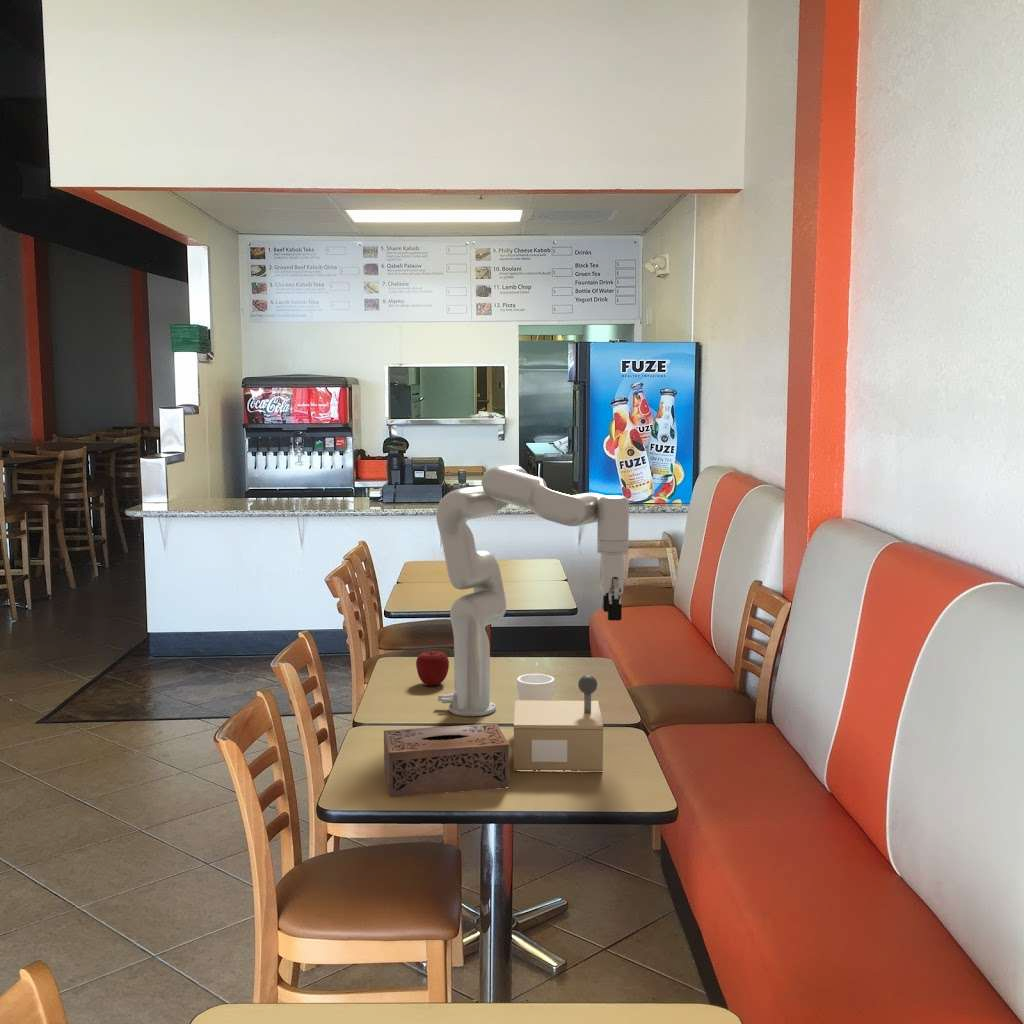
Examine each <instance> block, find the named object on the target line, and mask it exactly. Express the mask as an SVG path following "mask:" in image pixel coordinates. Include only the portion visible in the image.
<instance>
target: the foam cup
mask: <svg viewBox="0 0 1024 1024" xmlns="http://www.w3.org/2000/svg"><path fill="white" fill-rule="evenodd" d="M516 688H517V690H518V698H519V699H518V700H545V701H553V696H554V689H555V678H554V676H552V675H548V674H544V673H529V674H527V673H525V674H522V675H519V676H518V677H517V678H516Z"/></svg>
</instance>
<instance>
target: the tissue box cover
mask: <svg viewBox="0 0 1024 1024" xmlns="http://www.w3.org/2000/svg"><path fill="white" fill-rule="evenodd" d="M383 758H384V760H383V762H384V764H383V767H384V771H383V772H384V776H385V781H386V786H387V791H388V792H387V793H388V796H389V797H388V798H396V797H397V798H398V797H400V798H401V797H410V796H422V795H423V794H425V795H437V793H438V794H446V792H449V793H450V794H451V793H461V792H460V791H464V792H473V790H477V791H487V790H488V789H490V790H498V789H497V788H503V789H507V788H506V787H509V788H510V744H509V741H508V740H507V739H506V737H505V734H504V733H503V731H502V730H501V728H500V725H498V723H497V722H496V723H482V724H479V723H478V724H467V725H466V724H465V725H464V724H462V725H453V726H452V725H450V726H436V727H433V726H432V727H420V728H419V727H418V728H417V727H416V728H406V729H403V728H402V729H388V730H383ZM423 796H424V795H423Z"/></svg>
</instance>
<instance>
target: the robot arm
mask: <svg viewBox="0 0 1024 1024" xmlns="http://www.w3.org/2000/svg"><path fill="white" fill-rule="evenodd" d="M510 504H511V505H513V506H518V507H519V508H524V509H526V510H529V511H532V513H533V514H535V515H537V516H538V517H540V518H542V519H543V520H544V519H545V520H546V521H549V522H553V523H556V524H560V525H564V526H567V527H580V526H584V525H588V524H594V523H597V539H596V541H597V543H596V544H597V545H596V546H597V549H596V552H597V554H600V559H599V561H600V563H599V586H598V587H599V590H600V591H601V593H602V594H603V596H602V597H603V605H602V606H603V612H605V613H607V619H608V621H621V620H622V612H623V611H622V610H623V609H622V608H623V607H622V598H621V597H622V596H621V595H622V594H623V592H624V579H625V578H624V576H625V573H624V572H625V565H624V564H625V562H624V561H625V560H624V559H625V558H624V557H625V555H627V554H629V529H630V528H629V527H630V526H629V525H630V524H629V523H630V520H629V519H630V518H629V517H630V513H629V512H630V510H629V509H630V502H629V499H628V498H627V497H626V496H625V495H615V494H613V495H612V494H611V495H605V494H601V493H597V492H584V493H578V494H572V495H570V494H566V493H562V492H559V491H556V490H552V489H550V488H548V487H547V483H546V481H545V479H543V478H542V477H539V476H534V475H532V474H529V473H528V472H527V471H526V469H524V468H522V466H519V465H517V464H508V465H507V464H506V465H499V466H494V467H491V468H489V469H487V471H485V472H484V474H483V476H482V477H481V485H477V486H468V487H462V488H461V487H460V488H457V489H454V490H451V491H449V492H448V493H446V494H445V495H444V496H443V497H442V498H441V500H440V501H439V503H438V505H437V508H436V514H435V515H436V523H437V528H438V531H439V535H440V538H441V543H442V548H443V553H444V559H445V565H446V570H447V575H448V579H449V581H450V582H449V583H450V584H451V585H452V587H454V588H455V589H457V590H461V591H462V590H463V591H464V590H470V589H472V590H473V592H471V593H467V594H463V595H462V596H460V597H459V598H457V599H456V600H455V601H454V602H453V603H452V606H451V609H450V614H449V616H450V622H451V627H452V634H453V655H454V657H453V658H454V661H453V662H454V667H453V669H454V674H453V675H454V677H453V678H454V690H453V692H451V693H449V694H444V693H443V694H442V693H439V694H437V695H438V696H437V701H438V702H441V704H449V705H448V710H449V712H450V713H452V714H453V715H456V716H459V717H460V716H461V717H482V716H487V715H490V714H492V713H494V712H495V711H496V709H497V705H496V704H495V702H493V701H491V673H490V671H491V670H490V669H491V667H490V666H491V664H490V663H491V656H490V655H491V654H490V652H491V651H490V649H491V648H490V647H491V646H490V640H489V636H488V633H487V631H486V627H487V626H489V625H492V624H496V623H497V622H500V621H501V620H502V619H503V618H504V617H505V614H506V611H507V610H506V609H507V601H506V593H505V588H504V584H503V579H502V574H501V568H500V564H499V563H498V560H497V559H496V557H495V556H494V555H493V554H492V553H491V552H490V551H487V550H484V549H483V550H482V549H480V550H479V549H478V550H477V548H476V543H475V538H474V534H473V532H472V530H471V528H470V527H469V525H468V524H467V522H468V521H469V520H475V519H480V518H486V517H490V516H492V515H494V514H496V513H497V512H499V511H501V510H502V509H504V508H505V507H506V506H509V505H510Z"/></svg>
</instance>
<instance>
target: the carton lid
mask: <svg viewBox="0 0 1024 1024" xmlns="http://www.w3.org/2000/svg"><path fill="white" fill-rule="evenodd" d="M577 685H578V689H579V691H580V692H581V693H583V695H584V697H583V699H584V700H552V701H545V700H519V699H516V700H515V701H514V714H513V715H514V718H513V729H514V728H521V729H603V730H604V724H603V723H604V722H603V718H602V714H601V713H602V712H601V710H600V709H601V708H600V704H599V703H600V702H599V700H592V694H593V693H594V692H595V691H596V690H597V689H598V681H597V679H596V677H594V676H593V675H590V674H585V675H582V676H581V677H580V678H579V680H578V683H577Z"/></svg>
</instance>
